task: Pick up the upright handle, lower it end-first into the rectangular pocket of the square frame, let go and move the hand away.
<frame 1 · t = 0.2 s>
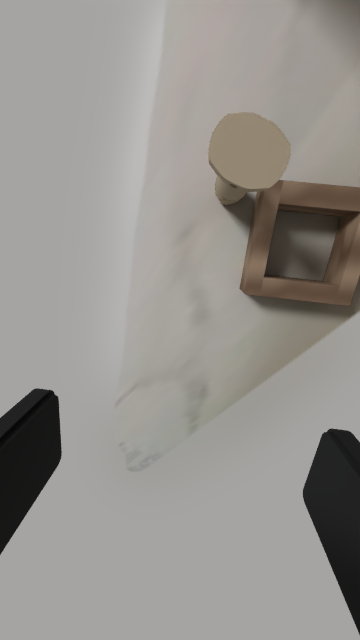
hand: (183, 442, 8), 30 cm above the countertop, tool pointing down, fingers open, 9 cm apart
handle: (227, 193, 33), on the countertop
square frame: (296, 246, 34), on the countertop
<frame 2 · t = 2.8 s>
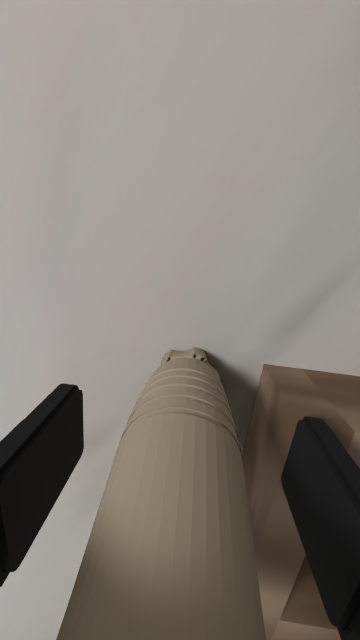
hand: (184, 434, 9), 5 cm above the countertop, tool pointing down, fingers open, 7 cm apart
handle: (187, 369, 13), on the countertop
square frame: (355, 481, 14), on the countertop
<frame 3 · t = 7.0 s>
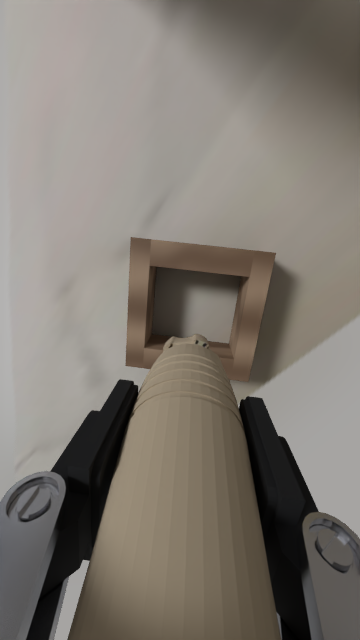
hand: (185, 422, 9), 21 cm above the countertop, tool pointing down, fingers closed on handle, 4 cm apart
handle: (189, 355, 13), point 16 cm above the countertop, touching gripper
square frame: (194, 304, 29), on the countertop
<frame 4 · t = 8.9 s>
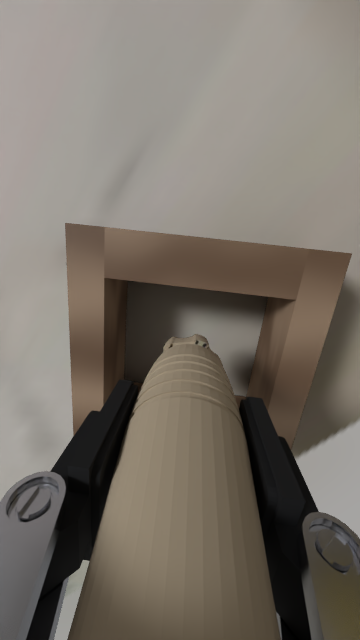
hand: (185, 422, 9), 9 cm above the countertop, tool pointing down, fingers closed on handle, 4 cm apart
handle: (189, 355, 13), point 5 cm above the countertop, touching gripper
square frame: (191, 337, 18), on the countertop
when the fingers open (6 cm above the countertop, at t = 10.3 s): handle drops 2 cm, resting in square frame.
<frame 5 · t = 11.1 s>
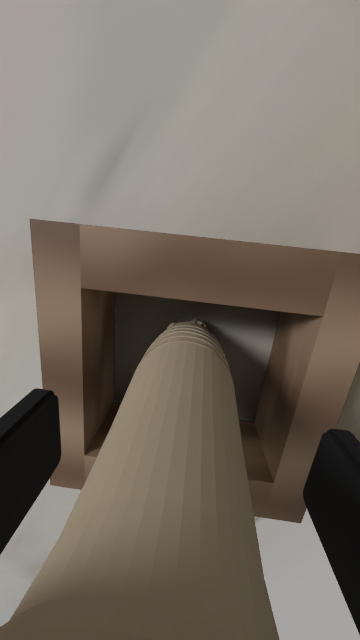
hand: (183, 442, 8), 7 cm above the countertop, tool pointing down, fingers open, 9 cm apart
handle: (189, 339, 15), resting in square frame
square frame: (190, 354, 15), on the countertop
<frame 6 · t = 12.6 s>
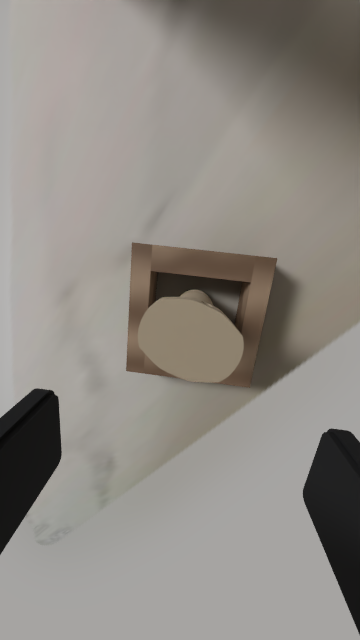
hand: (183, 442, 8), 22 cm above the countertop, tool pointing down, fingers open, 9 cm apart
handle: (195, 301, 29), resting in square frame
square frame: (195, 309, 29), on the countertop
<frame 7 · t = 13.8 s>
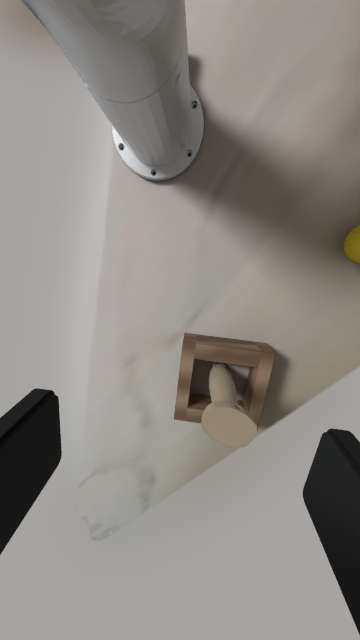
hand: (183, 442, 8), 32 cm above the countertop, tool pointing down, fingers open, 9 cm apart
handle: (219, 369, 42), resting in square frame
lemon: (351, 244, 35), on the countertop
square frame: (219, 374, 42), on the countertop
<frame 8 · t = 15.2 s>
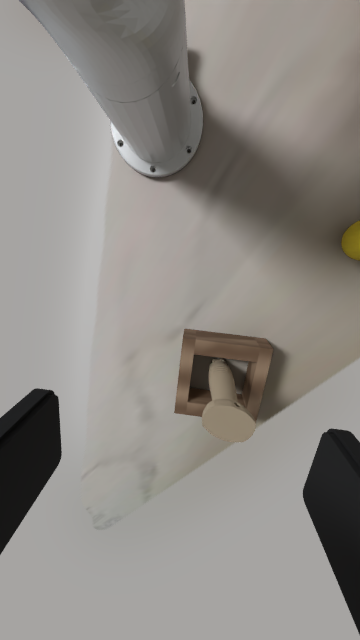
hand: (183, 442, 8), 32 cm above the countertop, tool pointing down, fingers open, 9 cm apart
handle: (218, 364, 43), resting in square frame
lemon: (349, 240, 36), on the countertop
square frame: (218, 369, 43), on the countertop
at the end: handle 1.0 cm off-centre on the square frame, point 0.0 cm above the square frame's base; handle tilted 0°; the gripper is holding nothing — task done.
